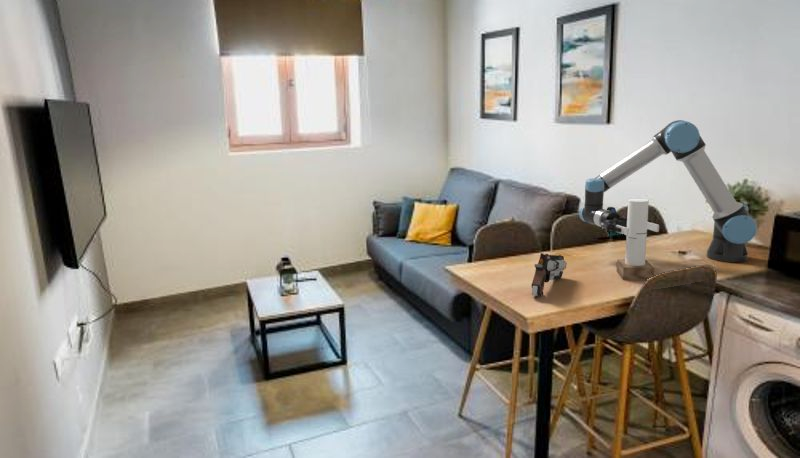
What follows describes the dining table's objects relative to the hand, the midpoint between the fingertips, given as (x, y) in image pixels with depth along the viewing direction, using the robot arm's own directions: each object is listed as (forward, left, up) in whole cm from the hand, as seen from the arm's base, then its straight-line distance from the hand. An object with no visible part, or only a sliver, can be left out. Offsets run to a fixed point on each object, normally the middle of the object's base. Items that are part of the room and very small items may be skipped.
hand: (643, 230), depth 208 cm
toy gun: (+36, +12, -19) cm, 42 cm away
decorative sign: (-3, -68, -19) cm, 71 cm away
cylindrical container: (+1, -3, -14) cm, 15 cm away
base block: (+1, -3, -19) cm, 19 cm away
